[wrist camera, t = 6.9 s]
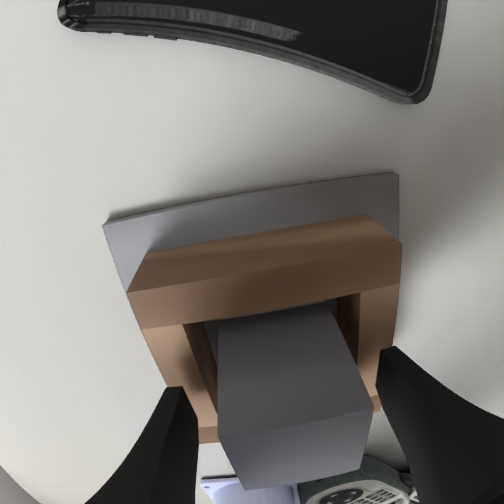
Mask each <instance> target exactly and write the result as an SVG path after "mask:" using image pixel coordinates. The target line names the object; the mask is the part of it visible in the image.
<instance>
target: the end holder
mask: <svg viewBox="0 0 504 504" xmlns="http://www.w3.org/2000/svg"><path fill="white" fill-rule="evenodd" d="M102 228H103V231H104V234H105V237H106V240H107V243H108V246H109V249H110V252H111V255H112V258H113V261H114V263H115V266H116V269H117V272H118V274H119V277H120V280H121V282H122V285H123V288H124V290H125V293H126V295H127V298H128V300H129V303H130V305H131V308H132V310H133V313H134V315H135V318H136V320H137V322H138V325H139V327H140V329H141V332H142V334H143V336H144V339H145V341H146V343H147V345H148V347H149V350H150V352H151V354H152V356H153V358H154V360H155V363H156V365H157V367H158V369H159V371H160V373H161V375H162V377H163V379H164V381H165V383H166V385H167V387H176V386H183V388H184V390H185V392H186V394H187V397H188V399H189V401H190V403H191V405H192V407H193V409H194V411H195V413H196V415H197V417H198V430H199V444H203V443H216V442H220V440H219V438H218V436H217V400H218V327H219V319H221V318H227V317H234V316H240V315H246V314H252V313H258V312H263V311H269V310H275V309H280V308H286V307H291V306H296V305H301V304H307V303H312V302H317V301H322V300H326V301H327V303H328V305H329V307H330V310H331V312H332V314H333V316H334V318H335V320H336V322H337V324H338V327H339V329H340V331H341V333H342V335H343V337H344V340H345V342H346V344H347V346H348V348H349V350H350V353H351V355H352V357H353V359H354V362H355V364H356V366H357V368H358V370H359V373H360V375H361V377H362V379H363V382H364V384H365V386H366V389H367V391H368V393H369V395H370V398H371V400H372V402H373V405H374V411H373V413H374V412H378V411H380V409H381V402H380V399H379V396H378V393H377V390H376V387H375V383H376V376H377V370H378V363H379V355H380V350H382V349H385V348H389V347H392V344H393V337H394V330H395V322H396V314H397V305H398V295H399V284H400V271H401V255H402V244H401V243H400V242H399V175H398V174H396V173H394V172H389V173H380V174H371V175H363V176H355V177H347V178H340V179H332V180H325V181H318V182H311V183H304V184H297V185H291V186H284V187H278V188H272V189H266V190H260V191H254V192H248V193H242V194H237V195H231V196H226V197H220V198H215V199H210V200H204V201H199V202H194V203H189V204H184V205H179V206H174V207H169V208H165V209H160V210H155V211H151V212H146V213H141V214H137V215H132V216H128V217H124V218H119V219H115V220H111V221H107V222H105V223H104V224H103V225H102Z"/></svg>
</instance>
